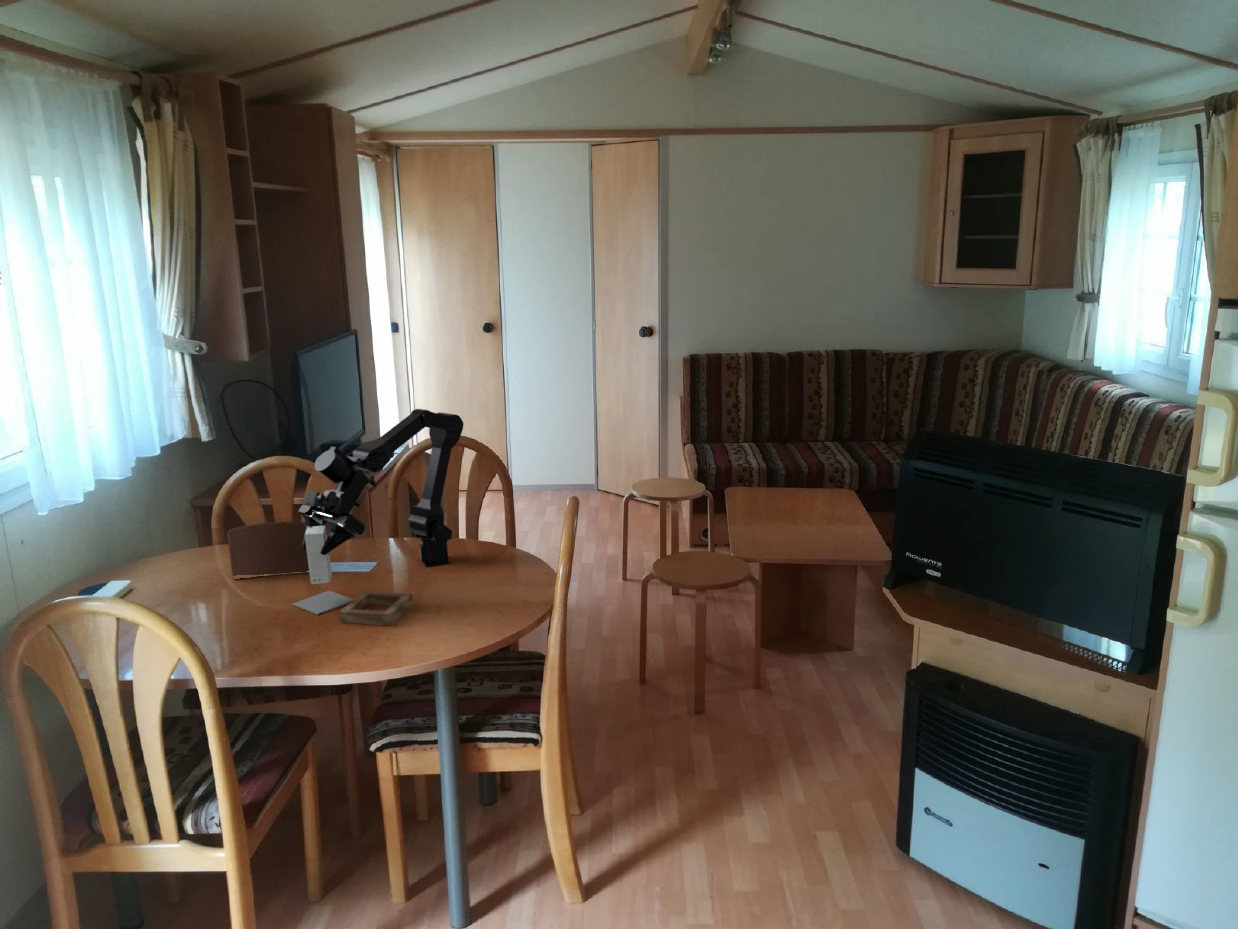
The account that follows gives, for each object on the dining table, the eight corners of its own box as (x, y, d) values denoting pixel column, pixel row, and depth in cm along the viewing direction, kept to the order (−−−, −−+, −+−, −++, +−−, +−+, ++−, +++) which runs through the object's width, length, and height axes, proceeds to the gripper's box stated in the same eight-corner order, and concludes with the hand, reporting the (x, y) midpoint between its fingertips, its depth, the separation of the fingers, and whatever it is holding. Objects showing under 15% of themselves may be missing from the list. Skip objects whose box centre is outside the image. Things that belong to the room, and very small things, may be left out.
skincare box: (330, 583, 209) (325, 533, 206) (309, 585, 208) (304, 535, 205) (332, 573, 215) (327, 524, 212) (312, 575, 214) (307, 526, 211)
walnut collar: (365, 601, 213) (364, 591, 213) (413, 604, 211) (412, 594, 210) (340, 622, 202) (338, 612, 201) (390, 625, 200) (389, 614, 199)
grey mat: (329, 592, 220) (328, 590, 220) (354, 601, 214) (354, 599, 214) (292, 605, 212) (291, 604, 212) (317, 615, 206) (316, 613, 206)
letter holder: (314, 572, 234) (308, 520, 231) (232, 580, 230) (225, 527, 226) (318, 559, 243) (312, 509, 240) (239, 567, 239) (232, 516, 236)
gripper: (300, 470, 214) (264, 527, 209) (349, 481, 203) (311, 542, 197) (333, 494, 222) (298, 550, 217) (381, 506, 211) (346, 565, 205)
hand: (312, 551), depth 209 cm, fingers closed on skincare box, 7 cm apart
